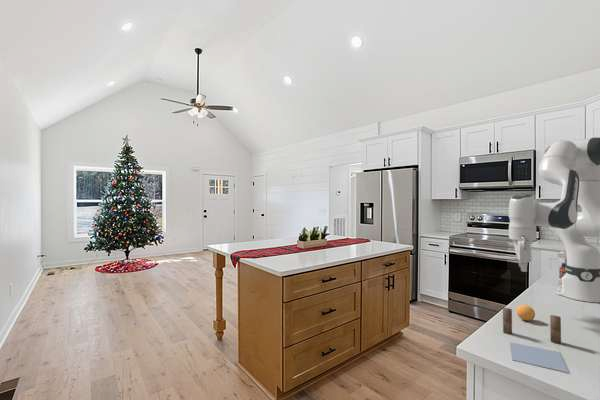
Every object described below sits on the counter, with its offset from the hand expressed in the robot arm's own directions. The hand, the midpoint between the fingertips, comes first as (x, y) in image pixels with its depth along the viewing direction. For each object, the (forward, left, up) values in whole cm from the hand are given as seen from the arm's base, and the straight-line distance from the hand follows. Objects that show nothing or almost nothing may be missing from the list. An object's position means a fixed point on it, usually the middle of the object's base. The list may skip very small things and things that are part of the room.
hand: (522, 269), depth 118 cm
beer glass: (-70, +25, -17) cm, 77 cm away
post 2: (+26, +6, -17) cm, 31 cm away
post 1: (+26, -6, -17) cm, 31 cm away
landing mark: (+40, 0, -17) cm, 43 cm away
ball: (+10, 0, -14) cm, 17 cm away
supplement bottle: (-56, +23, -17) cm, 63 cm away
